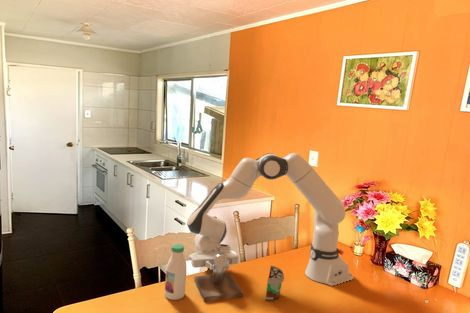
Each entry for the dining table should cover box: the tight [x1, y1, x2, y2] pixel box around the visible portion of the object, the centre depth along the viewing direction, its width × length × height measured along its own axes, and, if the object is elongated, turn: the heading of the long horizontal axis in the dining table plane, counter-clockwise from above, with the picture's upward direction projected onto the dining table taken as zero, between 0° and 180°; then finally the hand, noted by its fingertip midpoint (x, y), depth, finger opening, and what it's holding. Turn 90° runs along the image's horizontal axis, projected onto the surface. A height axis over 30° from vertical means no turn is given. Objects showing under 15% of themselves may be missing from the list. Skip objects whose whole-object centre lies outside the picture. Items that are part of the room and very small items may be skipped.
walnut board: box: [193, 272, 244, 303], centre depth 137 cm, size 16×16×2 cm
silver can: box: [212, 252, 227, 283], centre depth 136 cm, size 5×5×11 cm
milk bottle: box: [164, 243, 187, 301], centre depth 128 cm, size 8×8×20 cm
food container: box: [265, 265, 285, 302], centre depth 135 cm, size 12×6×10 cm, turn 168°
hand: (220, 267), depth 135 cm, fingers closed on silver can, 5 cm apart
